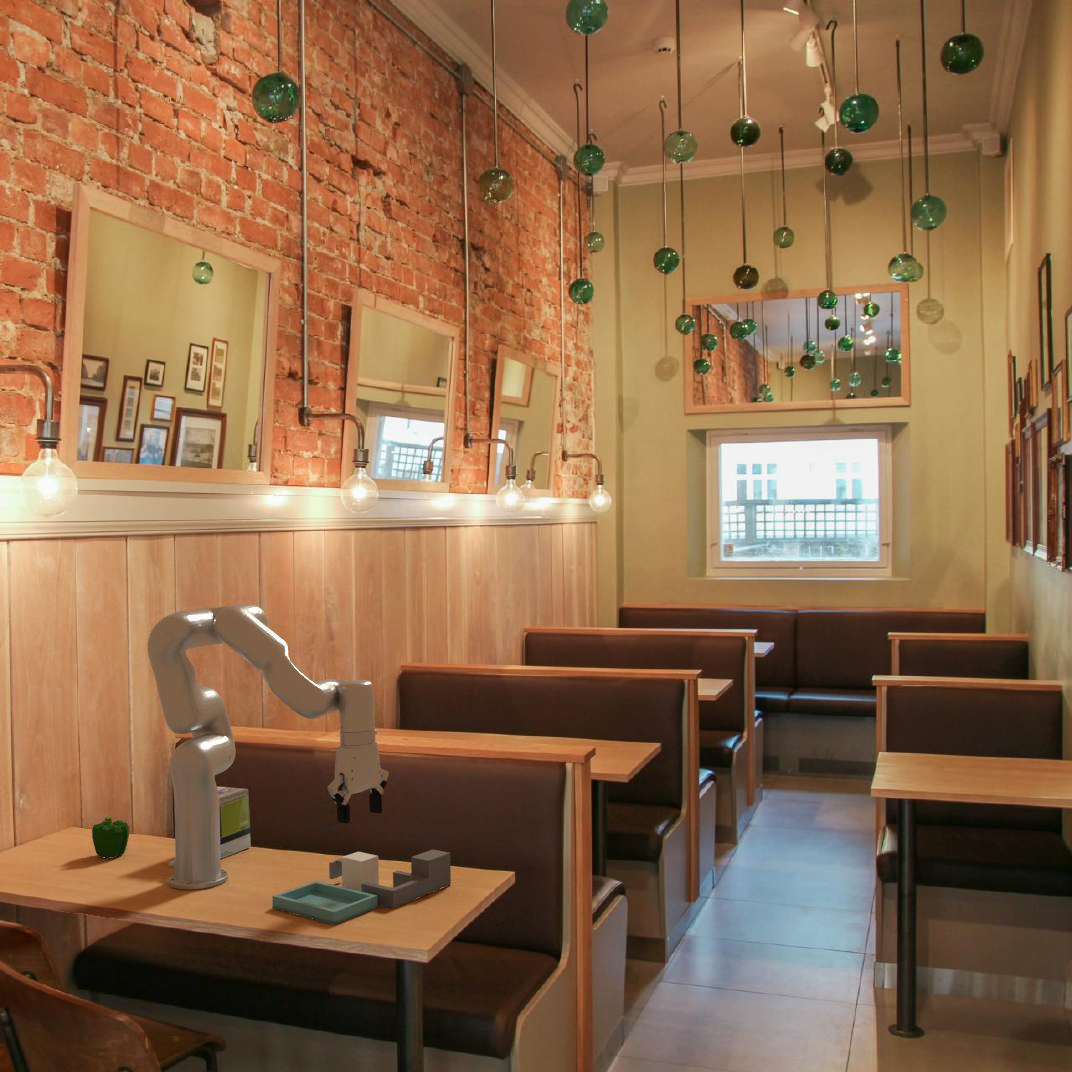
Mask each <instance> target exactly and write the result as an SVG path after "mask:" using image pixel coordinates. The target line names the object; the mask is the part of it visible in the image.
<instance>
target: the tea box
mask: <svg viewBox="0 0 1072 1072" xmlns="http://www.w3.org/2000/svg"><path fill="white" fill-rule="evenodd" d="M216 786H217V785H216ZM217 789H218V794H219V809H220V860H221V859H223V858H226V857H229V856H232V855H234V854H236V853H240V852H241V851H244V850H246V849H249V848H251V846H252V844H251V843H252V842H251V823H250V822H251V819H250V818H251V817H250V798H249V797H250V796H249V795H250V794H249V789H248V788H238V787H227V786H220V785H219V786H217Z"/></svg>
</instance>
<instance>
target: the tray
mask: <svg viewBox="0 0 1072 1072" xmlns="http://www.w3.org/2000/svg"><path fill="white" fill-rule="evenodd" d="M271 899H272V909H274V908H276V909H275V910H277V909H280V910H279V911H281V910H283V911H282V912H285V911H287V912H286V913H288V914H292V913H295V914H294V915H296V914H298V915H297V916H301V917H303V918H308V919H311V918H313V919H312V920H314V919H315V920H316V921H318V920H319V922H322V923H325V924H326V923H327V924H329V923H330V925H333V924H334V925H333V926H335V924H336V925H339V924H340V923H343V922H346V921H347V920H351V919H353V918H356V917H358V916H360V914H361V915H363V914H365V913H368V912H371V911H373V910H375V909H377V908H378V906H379V905H378V903H377V895H373V894H369V893H365V892H361V891H356V890H352V889H348V888H344V887H342V886H339V885H335V884H331V883H327V882H324V881H323V882H322V881H318V880H314V881H312V882H309V883H306V884H303V885H300V886H297V887H294V888H291V889H288V890H286V891H282V892H280V893H277V894H274V895H272V898H271ZM350 918H351V919H350Z"/></svg>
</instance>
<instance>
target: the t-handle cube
mask: <svg viewBox="0 0 1072 1072" xmlns="http://www.w3.org/2000/svg"><path fill="white" fill-rule="evenodd" d="M328 868H329V869H328V870H329V874H328V875H329V879H330V880H334V879H337V878H339V877H341V887H344V888H348V889H352V890H356V891H361V892H362V888H361V884H362V883H365V882H369V883H374V884H378V885H380V883H379V880H380V879H379V855H377V854H376V855H375V854H370V853H366V852H362V851H356V852H353V853H350V854H348V855H344V856H342V857H341V858H338V859H335V860H333V861H329V863H328Z"/></svg>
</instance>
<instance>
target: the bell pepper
mask: <svg viewBox="0 0 1072 1072" xmlns="http://www.w3.org/2000/svg"><path fill="white" fill-rule="evenodd" d="M112 819H113V818H112V817H111V816H108V815H107V816H105V818H104V821H102V822H100V823H97V824H94V825H93V826H92V829H91V833H92V834H91V835H92V836H91V838H92V843H93V846H94V850H95V853H96V855H97V856H98V857H100V856H101V857H105V858H104V859H107V858H109V857H115V856H117V857H118V856H122V855H124V853H125V852H126V850H127V846H128V841H129V838H130V837H129V836H130V826H129V825H128V822H124V821H123V820H116V821H113V820H112ZM112 821H113V822H112ZM101 857H100V858H101ZM115 858H116V857H115ZM109 859H110V858H109Z"/></svg>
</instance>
